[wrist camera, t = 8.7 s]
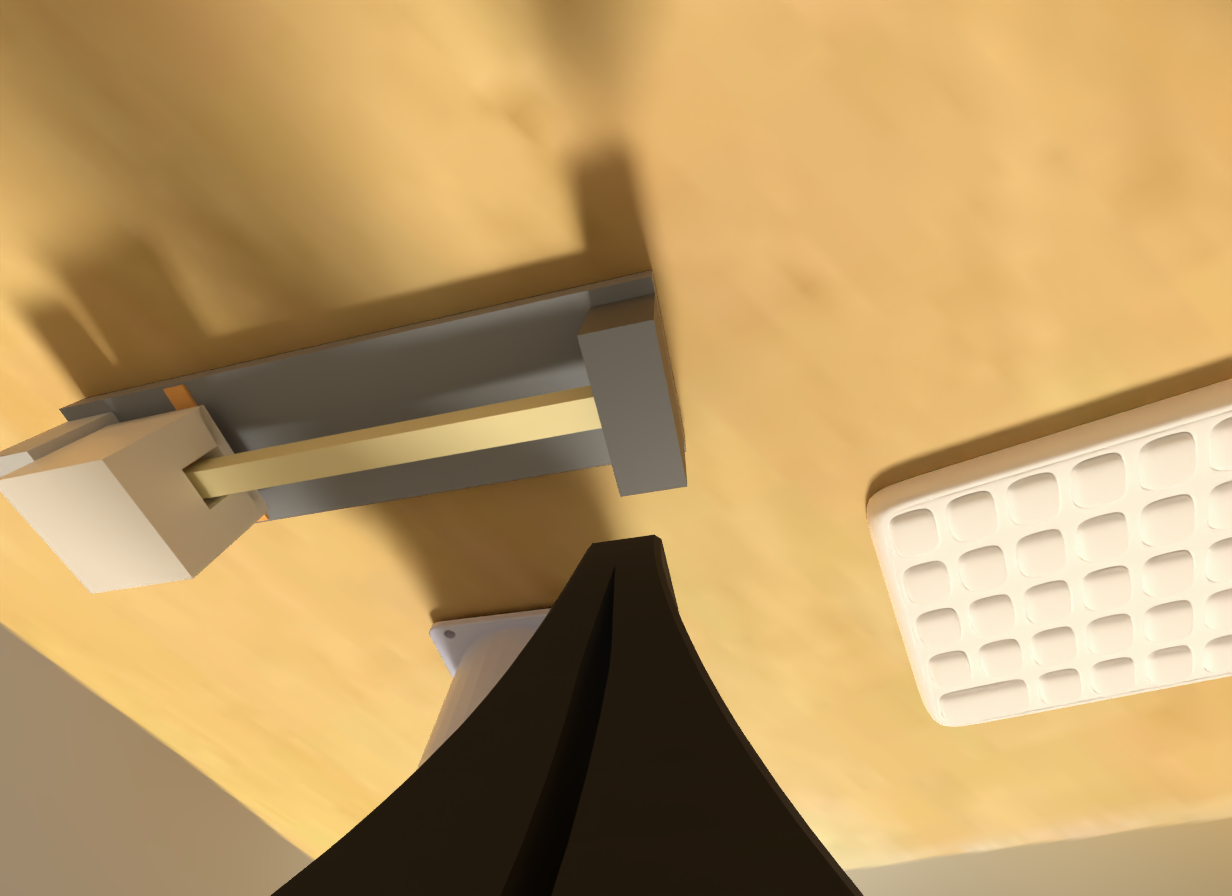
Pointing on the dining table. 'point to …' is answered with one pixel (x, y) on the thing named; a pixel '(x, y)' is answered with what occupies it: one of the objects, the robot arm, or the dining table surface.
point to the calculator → (1067, 563)
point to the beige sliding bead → (133, 502)
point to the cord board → (430, 406)
